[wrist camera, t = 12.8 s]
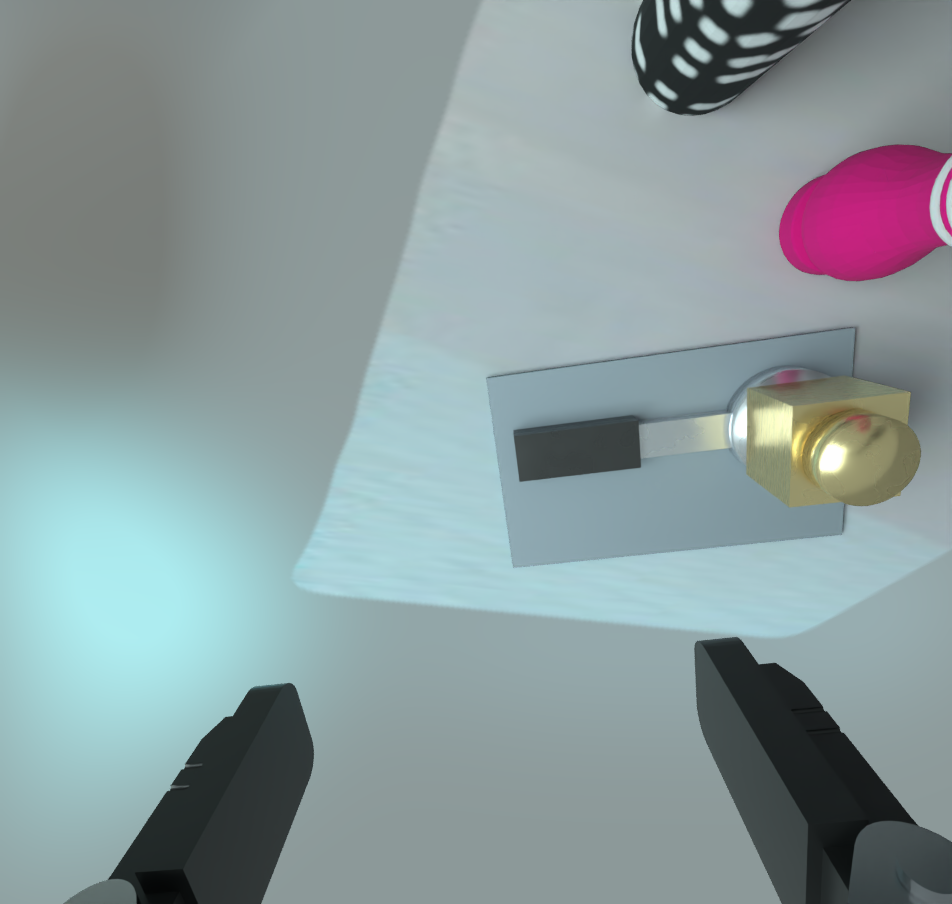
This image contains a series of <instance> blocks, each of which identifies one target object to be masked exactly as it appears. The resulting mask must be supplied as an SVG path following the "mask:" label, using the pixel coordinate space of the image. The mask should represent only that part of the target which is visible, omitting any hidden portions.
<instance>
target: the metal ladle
mask: <svg viewBox="0 0 952 904" xmlns="http://www.w3.org/2000/svg"><path fill="white" fill-rule="evenodd" d="M829 377H830V376H828V375H826V374H823V373H820V372H817V371H813V370H810V369H806V368H802V367H797V366H778V367H773V368H770V369H767V370H764V371H762V372H759V373H757V374H756V375H754V376H752V377H751V378H749V379H748V380H747V381H745V382H744V383H743V384H742V385H741V386H740V387H739V388H738V389H737V390H736V392H735V393H734V394H733V396H732V397H731V399H730V401H729V403H728V405H727V407H726V410H718V411H710V412H703V413H695V414H687V415H679V416H671V417H663V418H655V419H647V420H639V421H638V420H637V419H636V418H635V417H634V416H633V415H627V416H619V417H612V418H604V419H596V420H588V421H580V422H572V423H564V424H557V425H549V426H541V427H533V428H525V429H517V430H513V434H514V443H515V451H516V459H517V466H518V474H519V482H523V481H532V480H540V479H549V478H558V477H566V476H575V475H583V474H592V473H600V472H609V471H617V470H626V469H634V468H641V458H650V457H658V456H666V455H675V454H683V453H692V452H700V451H708V450H717V449H725V448H728V449H729V450H730V452H731V453H732V454H733V456H734V457H735V458H736V459H738V460H739V461H740V462H741V463H743V464H744V465H745V466H746V445H747V388H750V387H758V386H766V385H774V384H782V383H790V382H797V381H805V380H813V379H821V378H829Z"/></svg>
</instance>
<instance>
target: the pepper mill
mask: <svg viewBox="0 0 952 904" xmlns="http://www.w3.org/2000/svg"><path fill="white" fill-rule="evenodd" d="M779 239H780V245H781V248H782V250H783V253H784V255H785V257H786V258H787V260H788V261H789V262H790V263H791V264H792V265H793V266H794V267H795V268H797V269H799V270H801V271H802V272H806V273H809V274H816V275H825V274H827V275H829V276H831V277H834V278H836V279H841V280H846V281H863V280H870V279H876V278H882V277H885V276H888V275H891V274H894V273H896V272H898V271H900V270H902V269H905V268H907V267H909V266H911V265H913V264H914V263H916V262H917V261H919V260H920V259H922V258H923V257H925V256H926V255H927V254H929V253H930V252H931V251H933V250H934V249H935V248H936V247H940V246H945V245H949V246H951V247H952V153H940V152H937V151H934V150H931V149H928V148H925V147H921V146H915V145H888V146H882V147H878V148H874V149H870V150H866V151H863V152H860V153H857V154H855V155H853V156H851V157H849V158H847V159H846V160H844V161H842V162H841V163H839V164H838V165H837V166H835V167H834V168H833V169H832V170H830V171H829V172H828V173H827V174H826V175H823V176H820V177H818V178H816V179H814V180H812V181H810V182H808V183H807V184H806V185H804V186H803V187H802V188H801V189H799V190H798V192H797V193H796V194H795V195H794V196H793V197H792V199H791V200H790V201H789V203H788V205H787V206H786V208H785V211H784V213H783V216H782V219H781V223H780V229H779Z"/></svg>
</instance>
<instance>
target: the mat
mask: <svg viewBox="0 0 952 904" xmlns="http://www.w3.org/2000/svg"><path fill="white" fill-rule="evenodd" d="M854 341H855V328H853V327H851V328H844V329H836V330H829V331H822V332H815V333H807V334H800V335H793V336H786V337H778V338H771V339H764V340H757V341H749V342H742V343H735V344H727V345H720V346H713V347H706V348H698V349H691V350H684V351H677V352H669V353H662V354H655V355H648V356H640V357H633V358H626V359H619V360H611V361H604V362H597V363H590V364H582V365H575V366H568V367H561V368H553V369H546V370H539V371H531V372H524V373H517V374H510V375H502V376H495V377H488V378H486V380H487V387H488V394H489V401H490V408H491V415H492V423H493V430H494V437H495V444H496V451H497V458H498V465H499V472H500V479H501V486H502V493H503V500H504V507H505V514H506V521H507V529H508V536H509V543H510V550H511V557H512V564H513V568H516V567H525V566H535V565H545V564H555V563H565V562H575V561H585V560H595V559H605V558H615V557H624V556H634V555H644V554H654V553H664V552H674V551H684V550H694V549H704V548H714V547H724V546H733V545H743V544H753V543H763V542H773V541H783V540H793V539H803V538H813V537H823V536H832V535H842V527H843V511H844V503H843V502H837V503H828V504H818V505H809V506H799V507H790V508H789V507H788V506H787V505H785V504H784V503H783V502H782V501H780V500H779V499H778V498H776V497H775V496H774V495H772V494H771V493H770V492H768V491H767V490H766V489H765V488H763V487H762V486H761V485H759V484H758V483H757V482H755V481H754V480H753V479H752V478H750V477H749V476H748V475H746V466H745V465H744V464H743V463H741V462H740V461H739V460H738V459H736V458H735V457H734V456H733V454H732V453H731V452H730V450H729V449H728V448H725V449H717V450H708V451H700V452H692V453H683V454H675V455H666V456H658V457H650V458H641V468H634V469H626V470H617V471H609V472H600V473H592V474H583V475H575V476H566V477H558V478H549V479H540V480H532V481H523V482H519V474H518V466H517V459H516V451H515V443H514V434H513V430H517V429H525V428H533V427H541V426H549V425H557V424H564V423H572V422H580V421H588V420H596V419H604V418H612V417H619V416H627V415H633V416H634V417H635V418H636V419H637V420H638V421H639V420H647V419H655V418H663V417H671V416H679V415H687V414H695V413H703V412H710V411H718V410H726V407H727V405H728V403H729V401H730V399H731V397H732V396H733V394H734V393H735V392H736V390H737V389H738V388H739V387H740V386H741V385H742V384H743V383H744V382H745V381H747V380H748V379H749V378H751V377H752V376H754V375H756V374H757V373H759V372H762V371H764V370H767V369H770V368H773V367H778V366H797V367H802V368H806V369H810V370H813V371H817V372H820V373H823V374H826V375H828V376H830V377H837V376H849V377H852V372H853V357H854Z"/></svg>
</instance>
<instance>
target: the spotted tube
mask: <svg viewBox="0 0 952 904" xmlns="http://www.w3.org/2000/svg"><path fill="white" fill-rule="evenodd" d="M849 1H851V0H643V2H642V4H641V6H640V8H639V11H638V14H637V17H636V20H635V23H634V28H633V35H632V59H633V65H634V70H635V73H636V75H637V78H638V80H639V83H640V85H641V86H642V88H643V89H644V91H645V92H646V94H647V95H648V96H649V97H650V98H651V99H652V100H653V101H654V102H655V103H656V104H657V105H659V106H661V107H662V108H664V109H665V110H667V111H670V112H673V113H676V114H680V115H690V116H693V115H701V114H706V113H709V112H712V111H715V110H718V109H719V108H721V107H723V106H725V105H726V104H728V103H730V102H731V101H732V100H733V99H735V98H736V97H737V96H738V95H739V94H741V93H742V92H743V91H744V90H745V89H746V88H748V87H749V86H750V85H751V84H752V83H754V82H755V81H756V80H757V79H758V78H759V77H761V76H762V75H763V74H764V73H765V72H767V71H768V70H769V69H770V68H771V67H773V66H774V65H775V64H776V63H777V62H778V61H780V60H781V59H782V58H783V57H784V56H786V55H787V54H788V53H789V52H790V51H791V50H793V49H794V48H795V47H796V46H797V45H799V44H800V43H801V42H802V41H803V40H804V39H806V38H807V37H808V36H809V35H810V34H812V33H813V32H814V31H815V30H816V29H817V28H819V27H820V26H821V25H822V24H823V23H825V22H826V21H827V20H828V19H829V18H830V17H832V16H833V15H834V14H835V13H836V12H838V11H839V10H840V9H841V8H842V7H843V6H845V5H846V4H847V3H848V2H849Z"/></svg>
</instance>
